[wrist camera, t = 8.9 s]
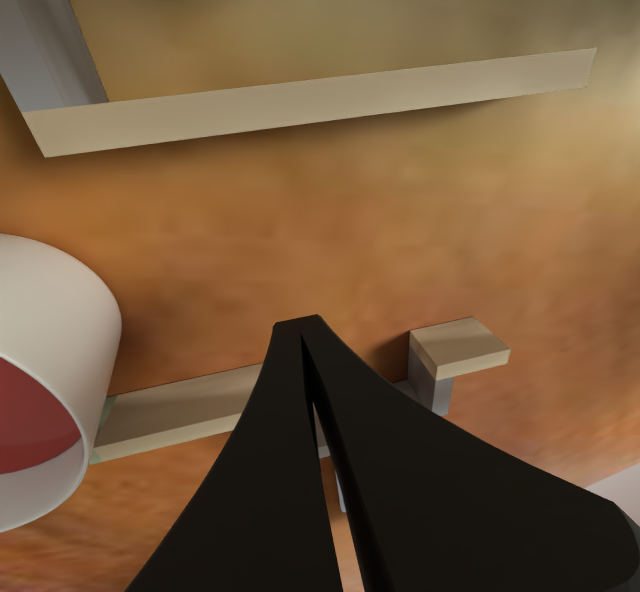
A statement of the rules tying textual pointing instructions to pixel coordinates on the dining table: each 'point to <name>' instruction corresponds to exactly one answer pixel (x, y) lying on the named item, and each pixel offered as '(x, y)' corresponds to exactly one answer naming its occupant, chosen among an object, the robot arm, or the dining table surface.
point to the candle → (49, 374)
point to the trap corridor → (232, 117)
